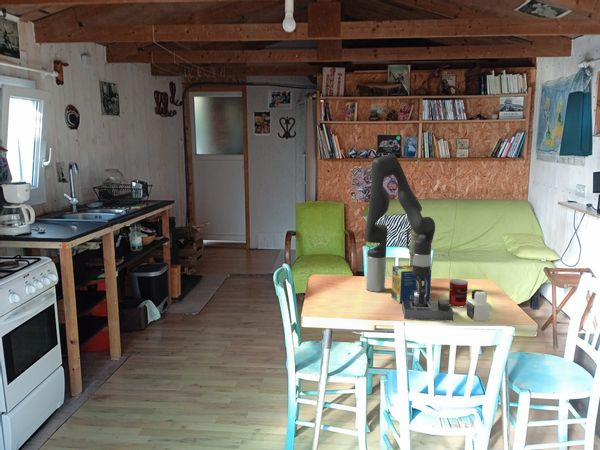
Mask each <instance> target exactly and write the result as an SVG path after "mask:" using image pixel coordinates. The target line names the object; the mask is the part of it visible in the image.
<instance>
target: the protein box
mask: <svg viewBox="0 0 600 450" xmlns="http://www.w3.org/2000/svg"><path fill="white" fill-rule="evenodd" d="M412 272H413V265H410V264H409V265H393V266H392V272H391V273H392V274H391V275H392V276H391V298H392V299H394V301H396V303H398V304H400V305H402V300H414V291H415V290H417V288H416V287H417V286H416V278H417V276H416V275H414V274H413V273H412ZM425 278H426V301H431V283H432V272H431V273H430V275H429V276H425Z"/></svg>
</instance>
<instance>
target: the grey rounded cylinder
mask: <svg viewBox="0 0 600 450" xmlns="http://www.w3.org/2000/svg"><path fill="white" fill-rule="evenodd" d="M421 292H423V290H421ZM414 307H426V294H425V295H424V304H419V290H415V291H414Z"/></svg>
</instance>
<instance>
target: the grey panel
mask: <svg viewBox="0 0 600 450" xmlns="http://www.w3.org/2000/svg"><path fill="white" fill-rule="evenodd" d="M401 311H402V314H403V319H405V320H423V321H424V320H425V321H426V320H427V321H428V320H429V321H445V322H446V321H449V322H454V310H453V308H452V305H450V303H449V299H438V300H437V301H436V300H430V301H426V307H414V300H402V304H401Z"/></svg>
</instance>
